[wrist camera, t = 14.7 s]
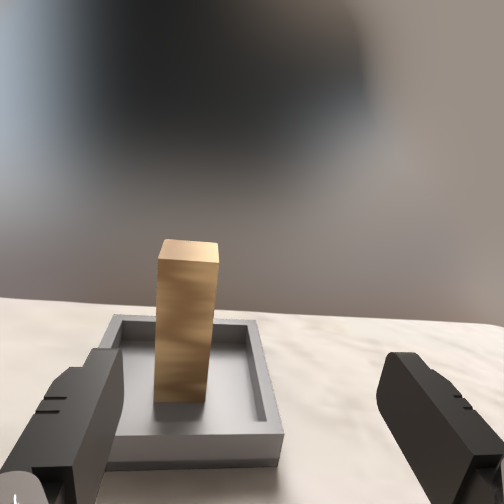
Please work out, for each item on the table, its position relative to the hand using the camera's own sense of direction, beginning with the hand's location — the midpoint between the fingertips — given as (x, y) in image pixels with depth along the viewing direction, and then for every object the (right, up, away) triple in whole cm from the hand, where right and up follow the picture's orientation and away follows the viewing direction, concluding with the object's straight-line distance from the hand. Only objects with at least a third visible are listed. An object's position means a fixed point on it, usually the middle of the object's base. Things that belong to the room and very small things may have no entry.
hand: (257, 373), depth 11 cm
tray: (-6, -8, +19) cm, 22 cm away
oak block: (-6, -7, +19) cm, 21 cm away
